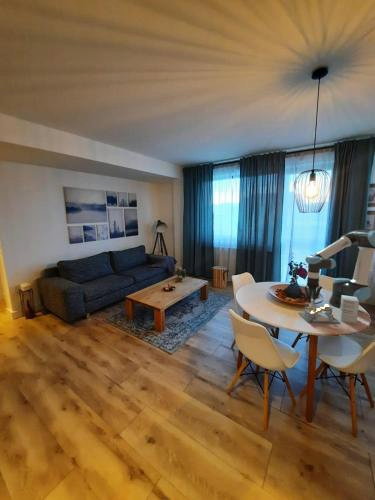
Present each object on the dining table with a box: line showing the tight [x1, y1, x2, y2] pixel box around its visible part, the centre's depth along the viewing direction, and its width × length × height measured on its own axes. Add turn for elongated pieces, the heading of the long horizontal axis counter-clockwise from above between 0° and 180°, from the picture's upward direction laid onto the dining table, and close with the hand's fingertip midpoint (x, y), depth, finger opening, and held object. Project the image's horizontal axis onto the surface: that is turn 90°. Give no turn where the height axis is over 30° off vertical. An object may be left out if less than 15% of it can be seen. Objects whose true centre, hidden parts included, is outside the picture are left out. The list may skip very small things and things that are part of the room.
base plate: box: [297, 306, 341, 324], centre depth 153 cm, size 22×15×7 cm
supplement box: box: [339, 295, 360, 325], centre depth 150 cm, size 10×9×17 cm
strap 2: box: [311, 303, 331, 314], centre depth 149 cm, size 15×3×1 cm, turn 86°
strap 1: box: [306, 306, 326, 312], centre depth 157 cm, size 15×3×1 cm, turn 86°
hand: (311, 307), depth 157 cm, fingers closed
